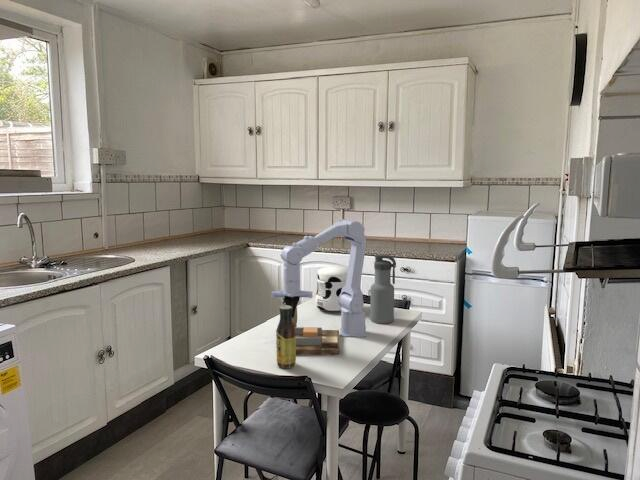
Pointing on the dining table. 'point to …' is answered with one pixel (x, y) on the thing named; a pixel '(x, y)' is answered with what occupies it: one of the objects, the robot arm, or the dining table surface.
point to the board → (327, 347)
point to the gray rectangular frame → (307, 339)
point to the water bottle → (382, 290)
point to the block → (310, 332)
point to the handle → (295, 317)
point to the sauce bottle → (286, 339)
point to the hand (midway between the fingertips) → (292, 316)
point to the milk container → (330, 288)
